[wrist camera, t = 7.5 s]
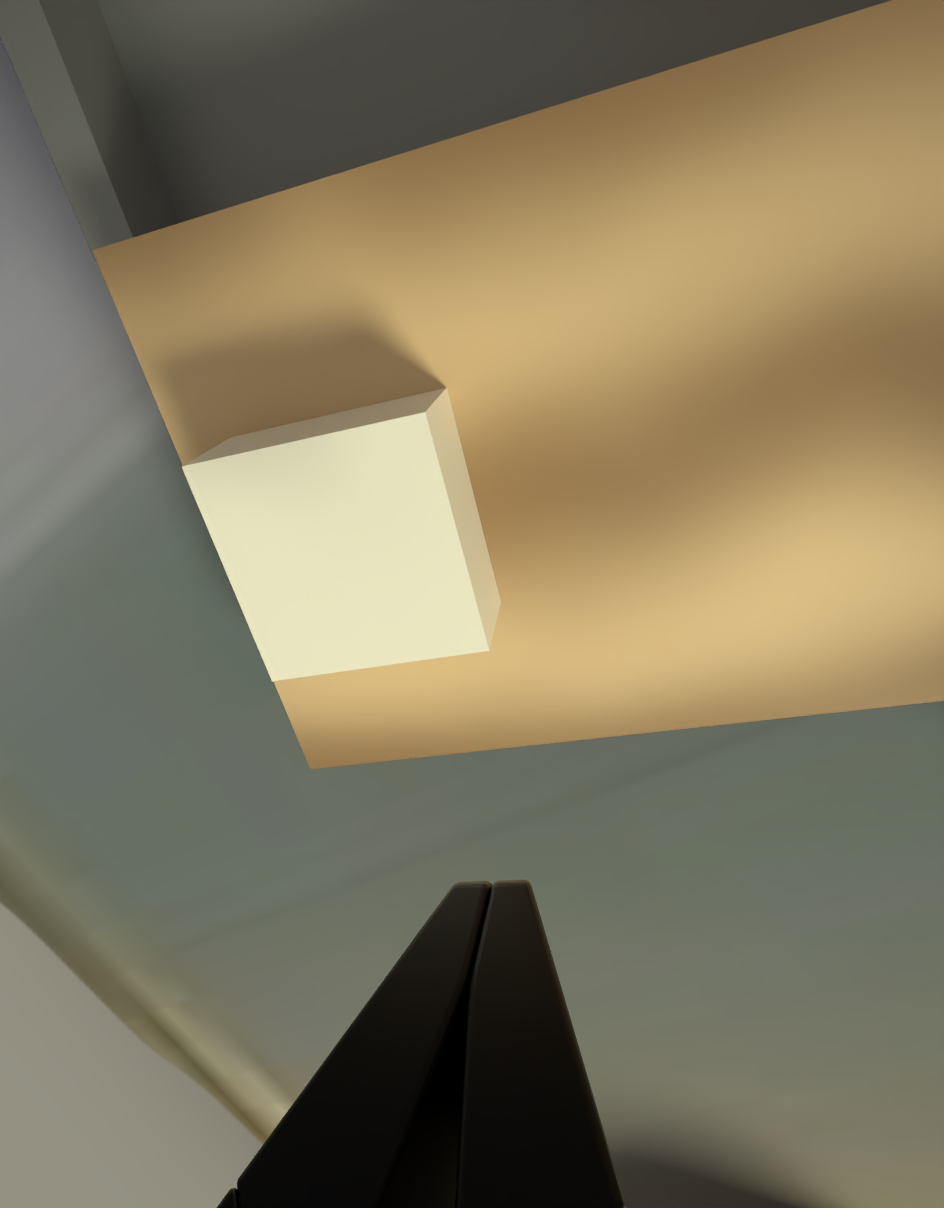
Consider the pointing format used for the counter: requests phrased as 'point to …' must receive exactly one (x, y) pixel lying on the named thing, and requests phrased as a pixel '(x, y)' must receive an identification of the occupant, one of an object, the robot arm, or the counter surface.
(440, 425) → the off-white tile
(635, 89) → the wooden flat block
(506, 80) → the box
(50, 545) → the counter surface
